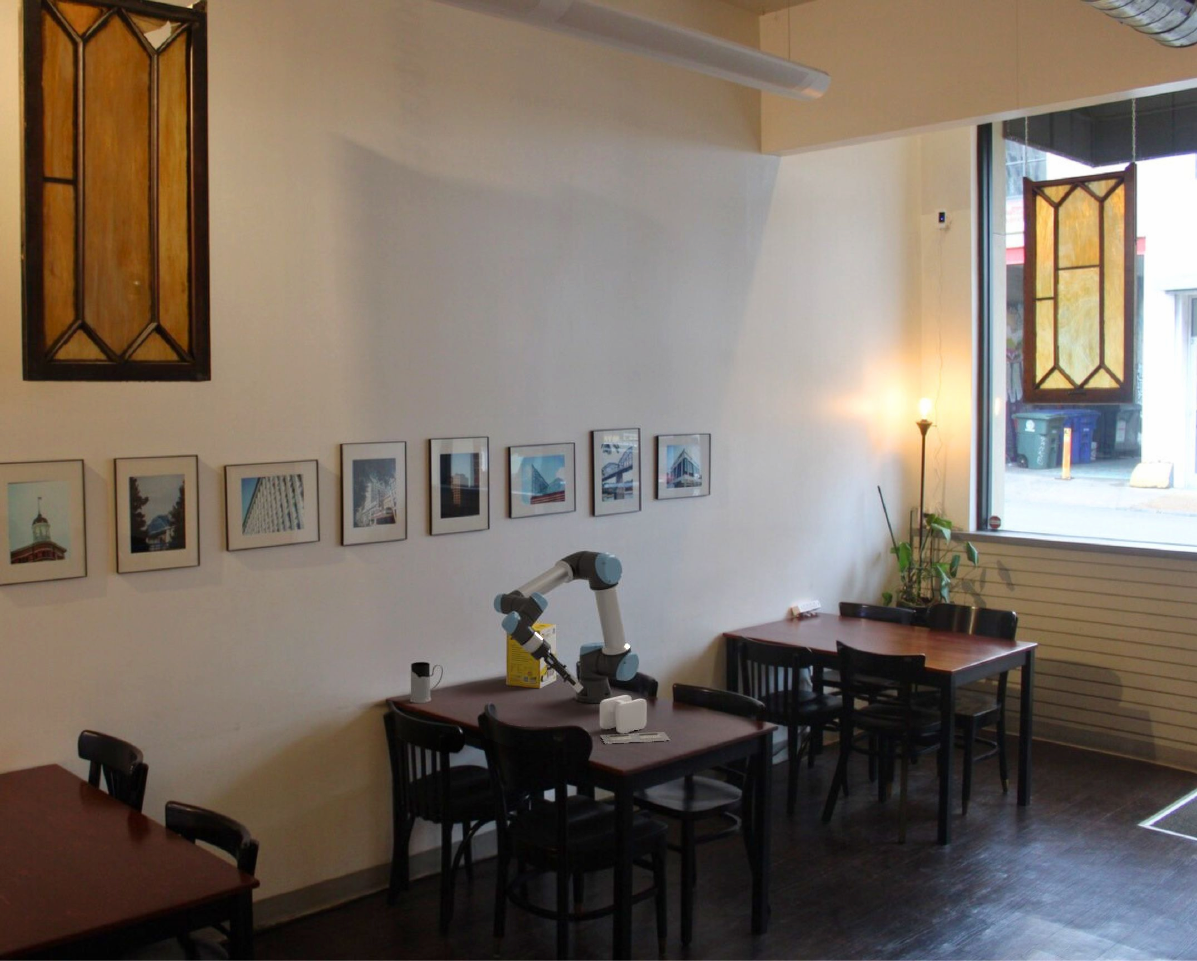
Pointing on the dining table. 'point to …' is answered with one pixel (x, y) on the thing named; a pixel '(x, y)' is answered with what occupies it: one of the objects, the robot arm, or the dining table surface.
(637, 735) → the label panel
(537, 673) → the packaging box
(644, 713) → the cable organizer
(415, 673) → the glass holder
